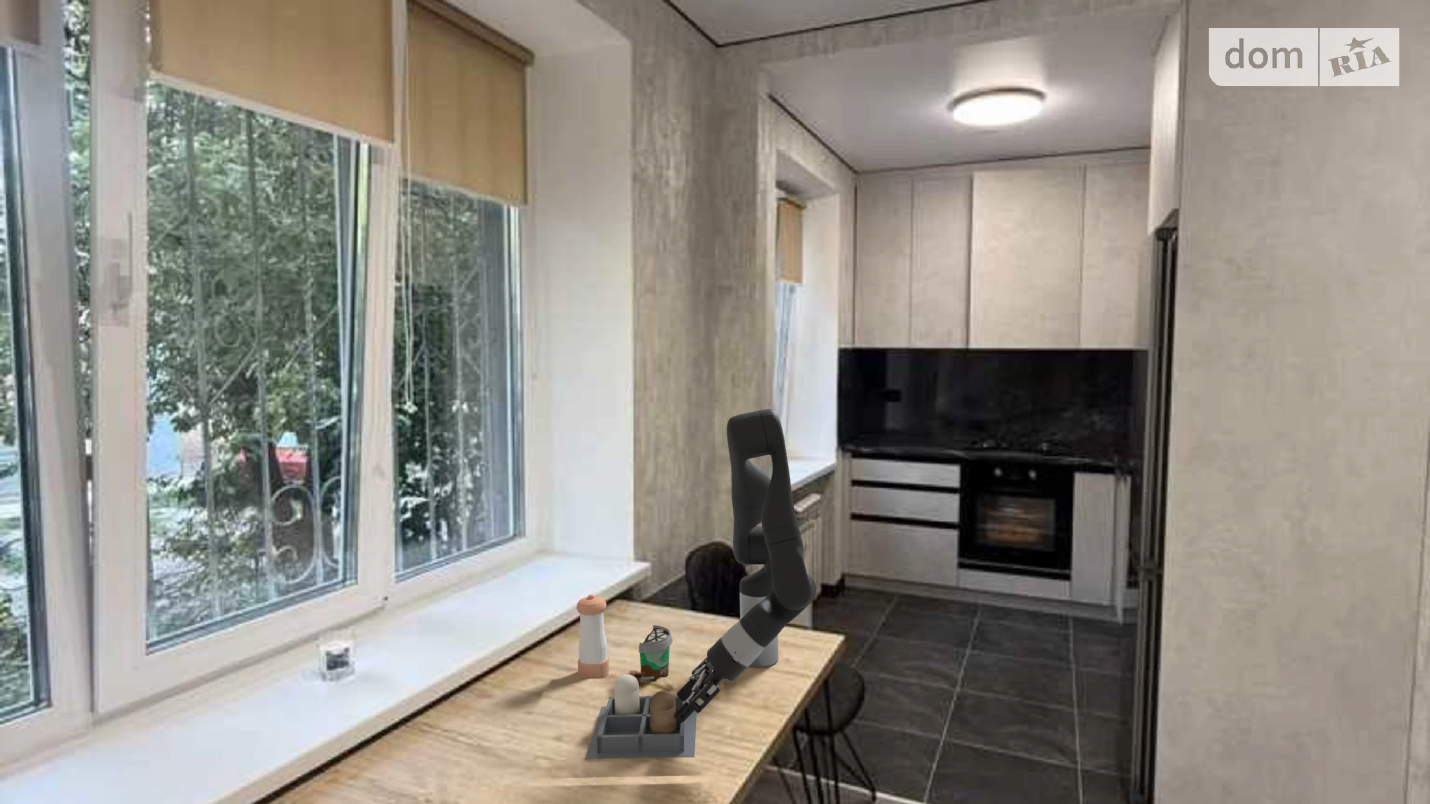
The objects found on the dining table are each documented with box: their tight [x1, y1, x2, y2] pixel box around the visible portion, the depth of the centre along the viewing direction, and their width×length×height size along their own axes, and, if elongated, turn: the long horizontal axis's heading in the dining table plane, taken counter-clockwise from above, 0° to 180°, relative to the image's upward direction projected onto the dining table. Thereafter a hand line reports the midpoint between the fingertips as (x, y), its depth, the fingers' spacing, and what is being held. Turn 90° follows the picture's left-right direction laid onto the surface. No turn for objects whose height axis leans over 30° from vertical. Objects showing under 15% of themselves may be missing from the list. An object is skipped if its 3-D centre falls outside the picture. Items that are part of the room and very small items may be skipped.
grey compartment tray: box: [584, 695, 698, 760], centre depth 149 cm, size 20×20×4 cm
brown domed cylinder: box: [650, 690, 676, 734], centre depth 145 cm, size 5×5×10 cm
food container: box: [638, 624, 673, 681], centre depth 176 cm, size 12×6×10 cm, turn 168°
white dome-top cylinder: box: [613, 673, 640, 715], centre depth 153 cm, size 5×5×10 cm
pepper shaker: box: [575, 594, 610, 680], centre depth 178 cm, size 7×7×19 cm
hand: (678, 708), depth 145 cm, fingers open, 8 cm apart
